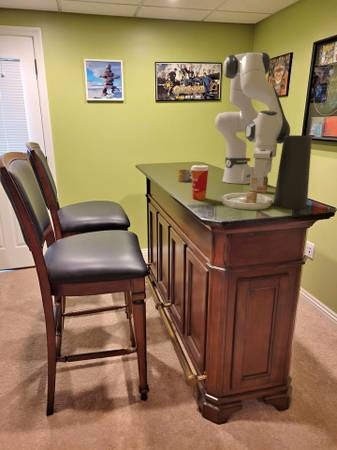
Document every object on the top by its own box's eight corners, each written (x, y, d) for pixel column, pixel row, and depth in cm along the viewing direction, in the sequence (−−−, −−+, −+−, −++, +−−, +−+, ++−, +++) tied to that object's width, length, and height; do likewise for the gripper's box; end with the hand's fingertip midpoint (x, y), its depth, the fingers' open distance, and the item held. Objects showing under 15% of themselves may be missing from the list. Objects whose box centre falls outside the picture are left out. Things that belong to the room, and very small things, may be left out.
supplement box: (266, 191, 172) (268, 165, 168) (265, 193, 168) (268, 166, 164) (249, 190, 175) (251, 164, 171) (248, 191, 171) (250, 166, 167)
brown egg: (257, 188, 145) (258, 176, 144) (267, 188, 144) (268, 177, 142) (256, 189, 142) (257, 178, 140) (266, 190, 140) (267, 178, 139)
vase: (288, 210, 136) (297, 137, 127) (266, 203, 148) (273, 135, 139) (313, 207, 141) (323, 136, 132) (290, 200, 153) (298, 134, 144)
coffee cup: (188, 196, 160) (189, 165, 155) (206, 196, 160) (207, 164, 156) (191, 200, 152) (192, 167, 147) (209, 200, 153) (210, 167, 148)
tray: (244, 196, 161) (245, 191, 161) (281, 204, 145) (281, 199, 144) (212, 202, 150) (212, 196, 149) (248, 212, 134) (248, 206, 133)
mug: (178, 182, 196) (178, 170, 194) (176, 180, 203) (177, 169, 201) (198, 182, 197) (198, 170, 195) (196, 180, 204) (196, 169, 202)
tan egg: (244, 203, 143) (245, 192, 142) (254, 203, 144) (255, 191, 142) (247, 206, 139) (248, 194, 138) (257, 205, 140) (258, 194, 138)
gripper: (261, 149, 148) (259, 181, 152) (252, 153, 131) (249, 188, 135) (276, 150, 146) (273, 182, 150) (269, 154, 128) (265, 190, 132)
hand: (262, 185), depth 142 cm, fingers closed on brown egg, 4 cm apart
